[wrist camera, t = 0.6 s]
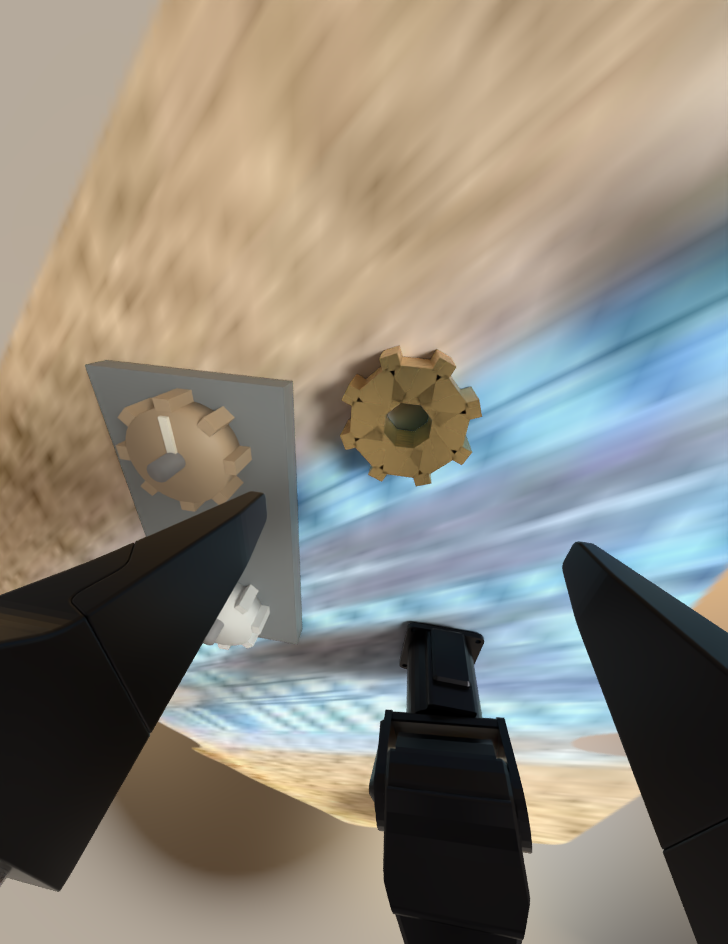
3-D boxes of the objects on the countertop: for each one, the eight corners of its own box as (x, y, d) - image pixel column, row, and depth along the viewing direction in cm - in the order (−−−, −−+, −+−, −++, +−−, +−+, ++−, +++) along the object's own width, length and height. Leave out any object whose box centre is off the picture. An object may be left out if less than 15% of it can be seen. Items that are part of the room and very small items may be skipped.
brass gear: (456, 471, 20) (461, 492, 18) (346, 456, 21) (338, 475, 18) (485, 354, 16) (496, 363, 14) (352, 340, 17) (343, 347, 15)
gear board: (302, 629, 31) (281, 691, 26) (186, 608, 32) (146, 664, 27) (292, 381, 19) (250, 410, 14) (106, 360, 20) (8, 381, 15)
